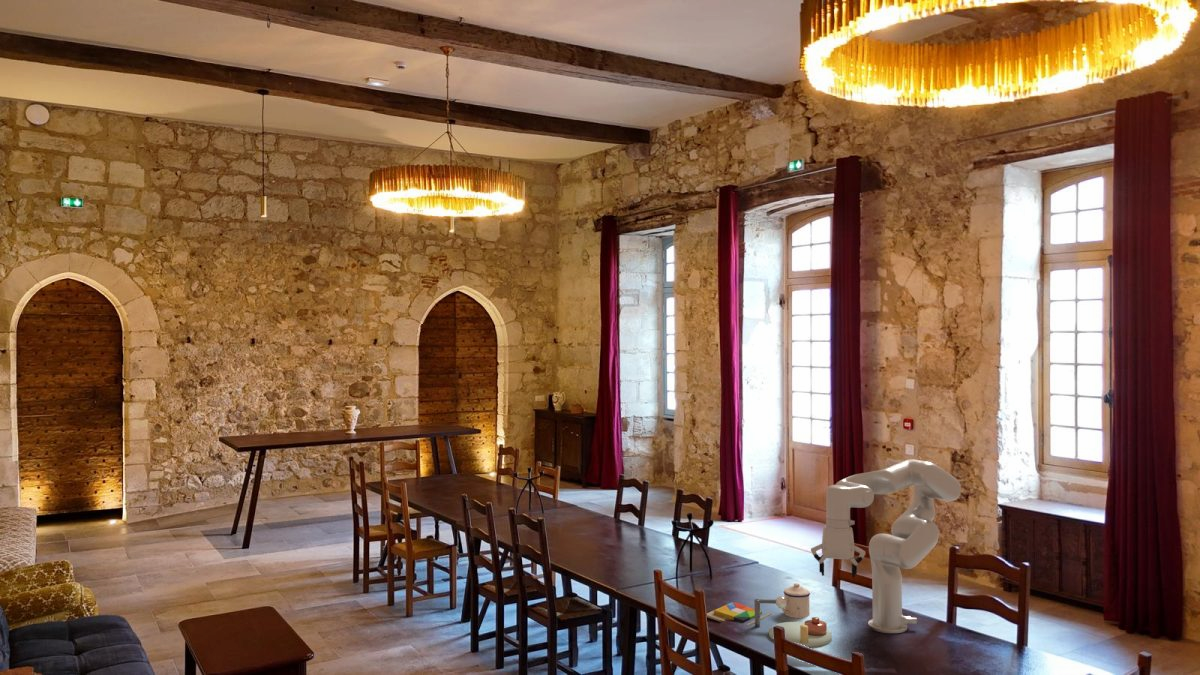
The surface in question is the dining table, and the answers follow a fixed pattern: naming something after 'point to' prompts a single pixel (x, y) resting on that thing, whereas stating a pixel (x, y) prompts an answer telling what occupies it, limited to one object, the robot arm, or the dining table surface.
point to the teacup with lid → (796, 601)
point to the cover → (816, 627)
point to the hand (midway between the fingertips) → (837, 575)
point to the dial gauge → (779, 602)
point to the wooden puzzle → (734, 613)
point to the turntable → (802, 634)
